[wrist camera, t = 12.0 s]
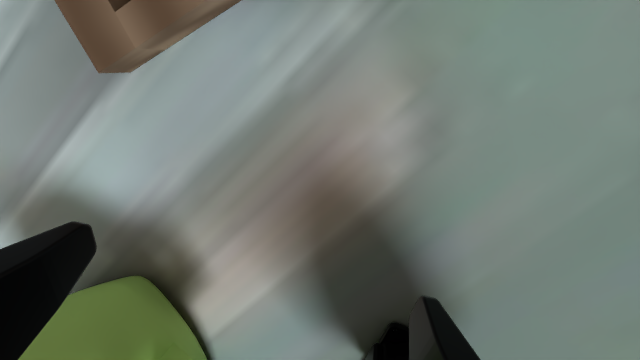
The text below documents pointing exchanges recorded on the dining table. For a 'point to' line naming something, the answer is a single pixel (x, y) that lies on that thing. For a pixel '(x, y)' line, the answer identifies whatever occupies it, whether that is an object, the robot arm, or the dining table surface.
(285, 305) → the dining table surface
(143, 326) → the teapot
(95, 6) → the brown flat block
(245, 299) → the dining table surface
